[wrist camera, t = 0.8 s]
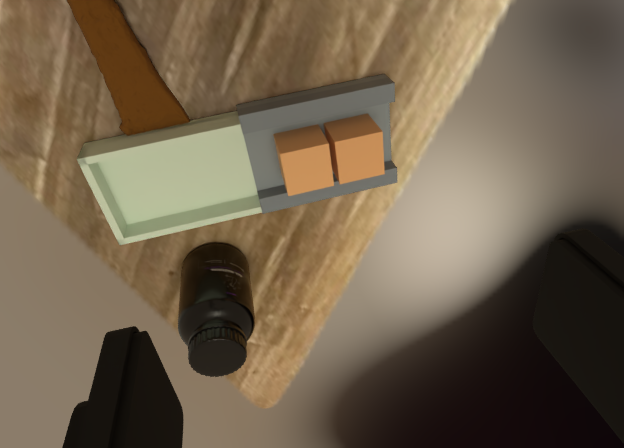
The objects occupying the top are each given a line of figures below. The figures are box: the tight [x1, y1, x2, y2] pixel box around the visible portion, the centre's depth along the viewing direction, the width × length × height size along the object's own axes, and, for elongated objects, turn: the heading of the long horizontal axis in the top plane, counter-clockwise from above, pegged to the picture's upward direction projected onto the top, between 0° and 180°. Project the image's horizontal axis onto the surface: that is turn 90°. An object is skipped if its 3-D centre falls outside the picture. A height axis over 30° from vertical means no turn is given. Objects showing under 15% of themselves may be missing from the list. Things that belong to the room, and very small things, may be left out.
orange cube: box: [324, 113, 385, 184], centre depth 39 cm, size 4×4×4 cm
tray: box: [77, 111, 262, 245], centre depth 39 cm, size 9×13×3 cm, turn 98°
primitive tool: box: [67, 0, 190, 136], centre depth 32 cm, size 19×6×4 cm, turn 18°
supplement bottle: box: [178, 244, 255, 377], centre depth 43 cm, size 7×7×12 cm
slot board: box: [236, 74, 397, 214], centre depth 41 cm, size 10×13×2 cm
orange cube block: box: [273, 124, 334, 196], centre depth 39 cm, size 4×4×4 cm
